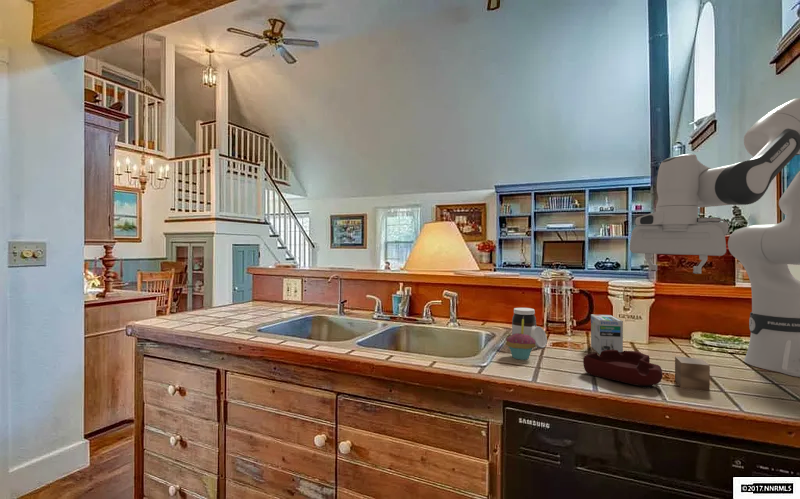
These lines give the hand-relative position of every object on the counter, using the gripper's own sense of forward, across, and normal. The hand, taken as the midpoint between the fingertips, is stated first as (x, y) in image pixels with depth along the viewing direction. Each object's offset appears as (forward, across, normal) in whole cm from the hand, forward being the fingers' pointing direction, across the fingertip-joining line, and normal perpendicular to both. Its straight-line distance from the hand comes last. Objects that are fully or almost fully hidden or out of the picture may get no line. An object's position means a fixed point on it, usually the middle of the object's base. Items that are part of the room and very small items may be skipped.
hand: (674, 272), depth 102 cm
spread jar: (+27, +41, -4) cm, 49 cm away
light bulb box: (+27, +19, -13) cm, 35 cm away
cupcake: (+28, +36, +12) cm, 46 cm away
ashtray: (+27, +10, +10) cm, 31 cm away
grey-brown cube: (+26, -5, +6) cm, 28 cm away
